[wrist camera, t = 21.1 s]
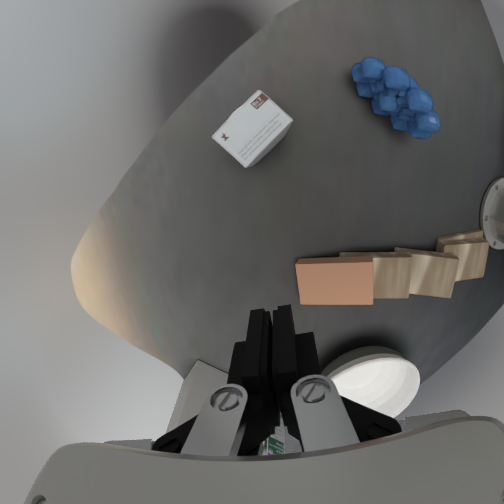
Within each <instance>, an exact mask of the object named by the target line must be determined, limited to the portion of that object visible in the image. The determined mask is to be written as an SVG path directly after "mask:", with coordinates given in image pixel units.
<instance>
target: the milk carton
mask: <svg viewBox="0 0 504 504" xmlns="http://www.w3.org/2000/svg"><path fill="white" fill-rule="evenodd" d="M227 379H228V374H227V373H225V372H223V371H221V370H218V369H216V368H214V367H212V366H210V365H208V364H206V363H204V362H202V361H200V360H197V362H196V363H195V365H194V366H193V368H192V369H191V371H190V372H189V374H188V375H187V377H186V378H185V380H184V381H183V384H182V387H181V390H180V393H179V396H178V399H177V402H176V404H175V407H174V411H173V413H172V416H171V419H170V422H169V425H168V428H167V431H166V433H168V432H170V431H171V430H173V429H175V428H176V427H178V426H180V425H181V424H183V423H185V422H186V421H188V420H190V419H191V418H193V417H194V416H196V415H198V414H199V412H200V410H201V408H202V406H203V404H204V401H205V399H206V397H207V396H208V394H209V393H210V392H211V391H212V390H213V389H215V388H216V387H218V386H221V385H225V384H227Z"/></svg>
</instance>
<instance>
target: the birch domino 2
mask: <svg viewBox="0 0 504 504" xmlns="http://www.w3.org/2000/svg"><path fill="white" fill-rule="evenodd" d="M394 252H410V253H411V255H412V269H411V280H410V289H409V293H410V294H419V295H427V296H436V297H444V298H451V294H452V291H453V287H454V283H455V278H456V274H457V270H458V265H459V258H458V256H457V255H454V254H447V253H439V252H431V251H423V250H415V249H407V248H398V247H394Z"/></svg>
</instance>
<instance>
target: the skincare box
mask: <svg viewBox="0 0 504 504" xmlns="http://www.w3.org/2000/svg"><path fill="white" fill-rule="evenodd" d="M292 122H293V119H292V118H291V117H290V116H289V115H288V114H287V113H285V112H284V111H283V110H282V109H281V108H280V107H279V106H278V105H277V104H275V103H274V102H273V101H272V100H271V99H270V98H269V97H268V96H267V95H265V94H264V93H263V92H262V91H261V90H257V91H256V92H255V93H254V94H253V95H252V96H251V97H250V98H249V99H248V100H247V101H246V102H245V103H244V104H243V105H242V106H240V107H239V108H238V109H236V110H235V111H234V112H233V113H232V114H231V116H230V117H229V118H228V119H227V121H226V122H225V123H224V124H223V125H222V126H221V127H220V128H219V129H218V130H217V131H216V132H215V133H214V134H213V135H212V139H214V140H215V141H216V142H217V143H218V144H220V145H221V146H222V147H223V148H224V149H225V150H226V151H228V152H229V153H230V154H231V155H232V156H233V157H234V158H235V159H236V160H237V161H238V162H239V163H240V164H241V165H242V166H243V167H245V168H247V167H251V166H254V165H255V164H256V163H257V162H259V161H260V160H261V159H262V158H263V157H264V156H265V155H266V154H267V153H268V152H269V151H270V150H271V149H272V148H273V147H274V146H275V145H276V144H277V143H278V142H279V141H280V140H281V139H282V138H283V137H284V136H285V135H286V133H287V131H288V130H289V128H290V126H291V123H292Z"/></svg>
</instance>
